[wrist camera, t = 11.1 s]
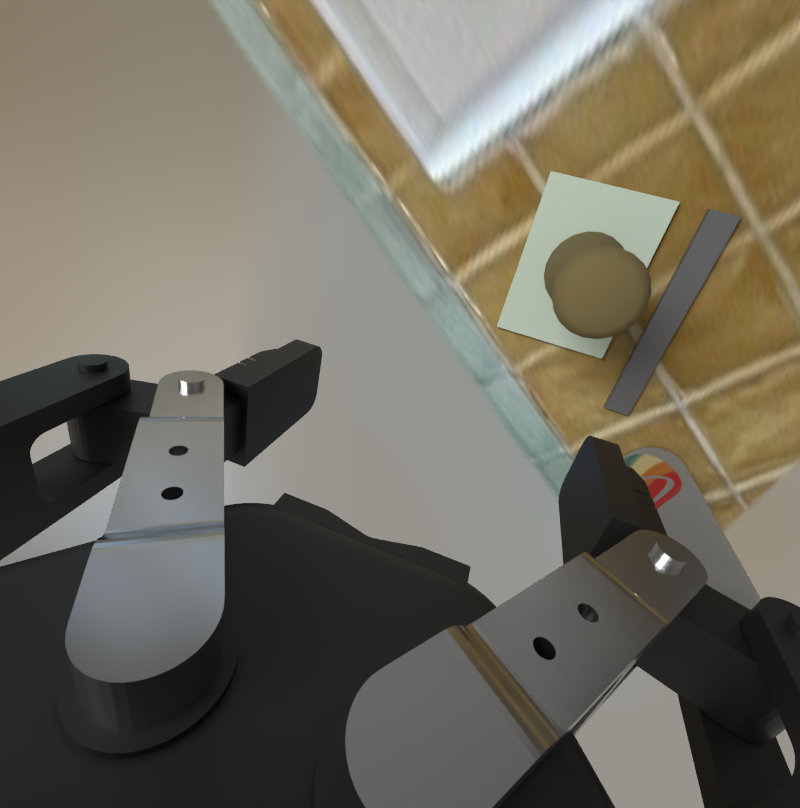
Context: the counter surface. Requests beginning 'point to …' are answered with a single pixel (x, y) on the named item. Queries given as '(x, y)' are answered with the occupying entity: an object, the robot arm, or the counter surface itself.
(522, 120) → the counter surface
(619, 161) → the counter surface
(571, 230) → the mat
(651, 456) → the lotion bottle
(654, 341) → the charcoal line
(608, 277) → the cork
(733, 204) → the counter surface
